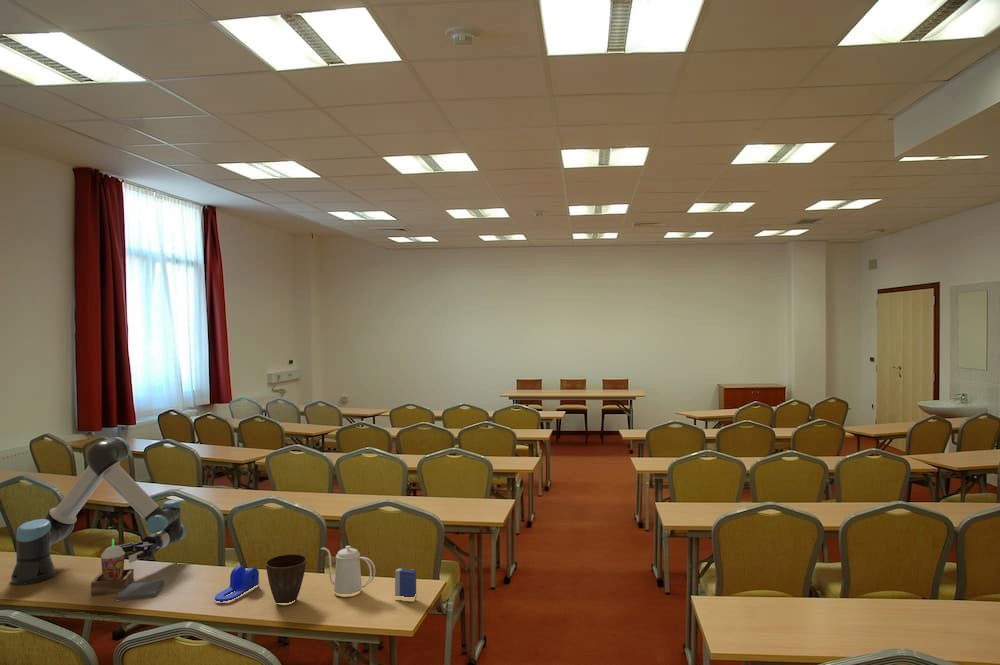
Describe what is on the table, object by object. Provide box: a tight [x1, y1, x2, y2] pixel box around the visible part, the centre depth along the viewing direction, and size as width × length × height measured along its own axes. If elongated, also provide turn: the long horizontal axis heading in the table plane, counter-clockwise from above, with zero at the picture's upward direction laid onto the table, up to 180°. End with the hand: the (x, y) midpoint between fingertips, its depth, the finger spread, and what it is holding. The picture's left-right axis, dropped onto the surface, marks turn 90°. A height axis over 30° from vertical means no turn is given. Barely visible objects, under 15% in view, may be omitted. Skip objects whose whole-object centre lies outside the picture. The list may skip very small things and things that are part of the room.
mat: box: [114, 579, 165, 602], centre depth 247 cm, size 14×14×2 cm
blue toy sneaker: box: [214, 565, 260, 602], centre depth 245 cm, size 18×8×9 cm, turn 164°
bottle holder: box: [90, 568, 135, 596], centre depth 252 cm, size 12×12×5 cm
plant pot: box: [265, 553, 307, 604], centre depth 238 cm, size 15×15×16 cm
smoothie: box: [100, 538, 126, 581], centre depth 252 cm, size 8×8×20 cm
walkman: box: [394, 567, 417, 597], centre depth 239 cm, size 8×3×12 cm, turn 74°
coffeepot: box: [320, 545, 376, 594], centre depth 247 cm, size 11×25×19 cm, turn 73°
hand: (115, 558), depth 252 cm, fingers open, 13 cm apart
